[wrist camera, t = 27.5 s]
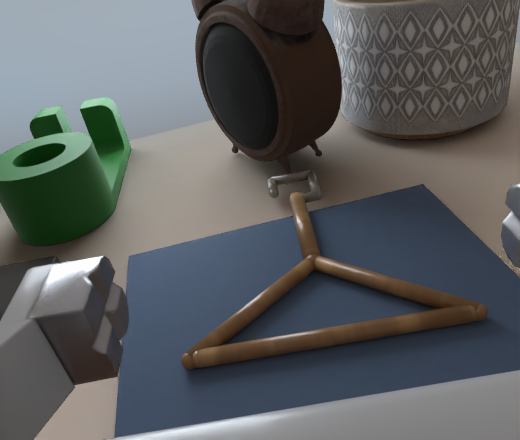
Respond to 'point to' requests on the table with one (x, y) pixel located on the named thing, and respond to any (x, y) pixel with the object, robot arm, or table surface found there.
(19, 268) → the rail
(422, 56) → the planter
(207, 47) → the alarm clock
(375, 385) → the mat
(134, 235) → the table surface
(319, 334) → the hanger
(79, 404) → the table surface
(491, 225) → the table surface
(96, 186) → the green bracket
